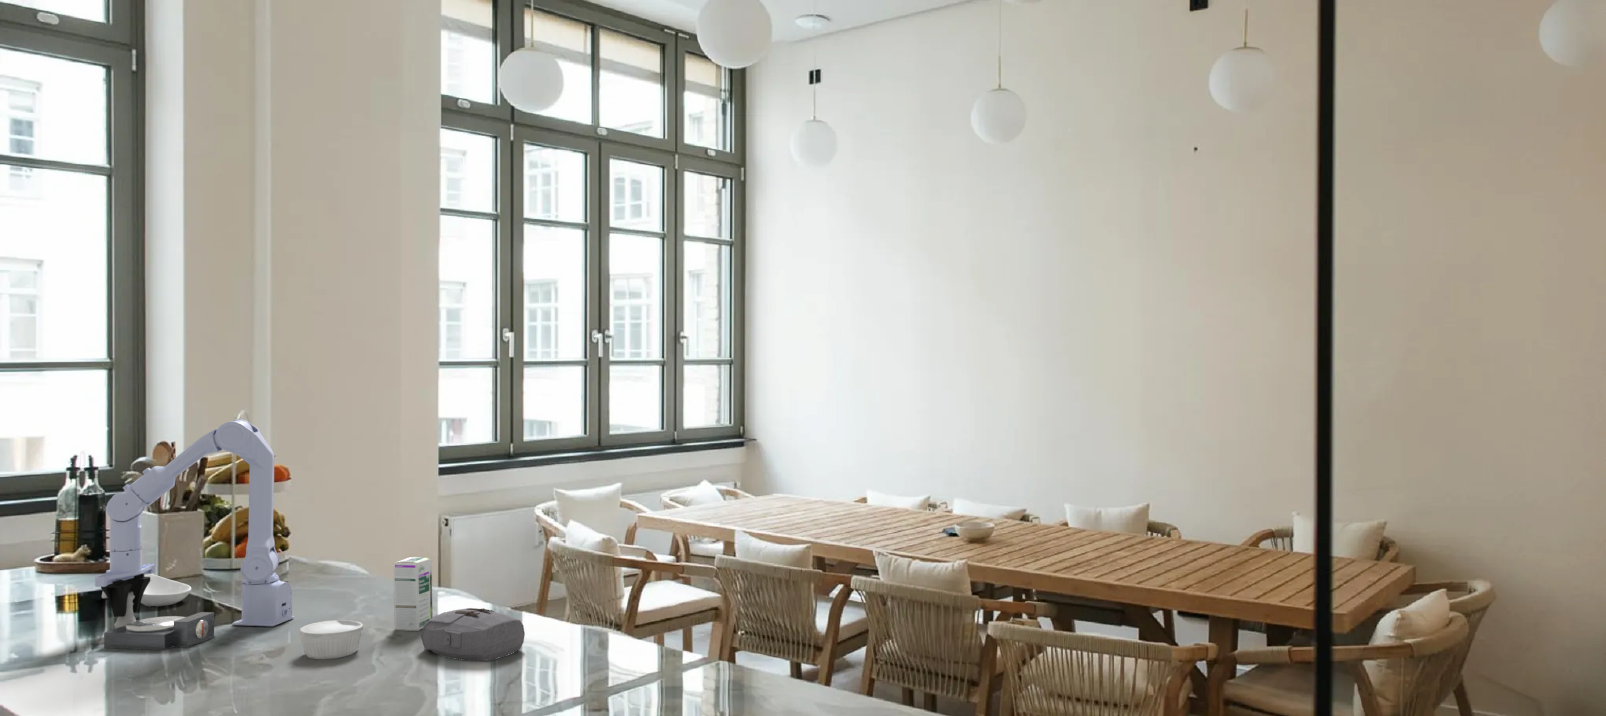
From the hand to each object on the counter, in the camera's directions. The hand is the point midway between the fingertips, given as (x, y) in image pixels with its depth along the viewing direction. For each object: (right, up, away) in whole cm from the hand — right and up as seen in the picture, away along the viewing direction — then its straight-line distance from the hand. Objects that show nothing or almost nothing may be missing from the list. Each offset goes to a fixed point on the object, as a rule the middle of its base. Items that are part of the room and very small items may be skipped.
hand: (126, 614), depth 229 cm
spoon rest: (-13, -4, +28) cm, 31 cm away
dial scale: (+13, -3, -8) cm, 15 cm away
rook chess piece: (0, -4, 0) cm, 4 cm away
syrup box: (+59, -4, +3) cm, 59 cm away
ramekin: (+50, -4, -17) cm, 53 cm away
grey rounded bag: (+76, -4, -15) cm, 78 cm away
